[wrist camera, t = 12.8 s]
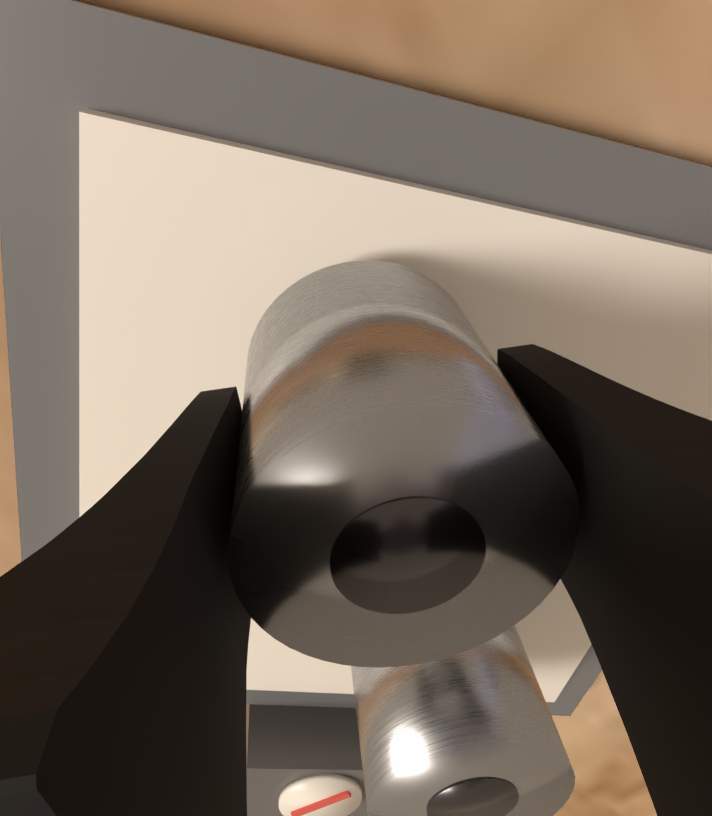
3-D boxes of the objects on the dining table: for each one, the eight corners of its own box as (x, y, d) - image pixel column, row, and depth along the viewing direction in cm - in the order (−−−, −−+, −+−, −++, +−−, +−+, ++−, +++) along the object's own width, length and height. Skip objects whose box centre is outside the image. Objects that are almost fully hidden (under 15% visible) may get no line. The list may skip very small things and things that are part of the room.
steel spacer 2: (467, 530, 16) (538, 718, 11) (522, 625, 18) (599, 810, 14) (316, 599, 16) (330, 799, 12) (388, 681, 19) (421, 874, 14)
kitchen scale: (869, 207, 14) (1018, 251, 11) (529, 736, 24) (562, 828, 21) (8, -18, 10) (-97, -38, 7) (44, 722, 20) (7, 832, 18)
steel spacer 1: (453, 229, 11) (570, 361, 6) (488, 430, 13) (590, 624, 9) (210, 301, 11) (165, 476, 7) (289, 485, 13) (294, 702, 9)
